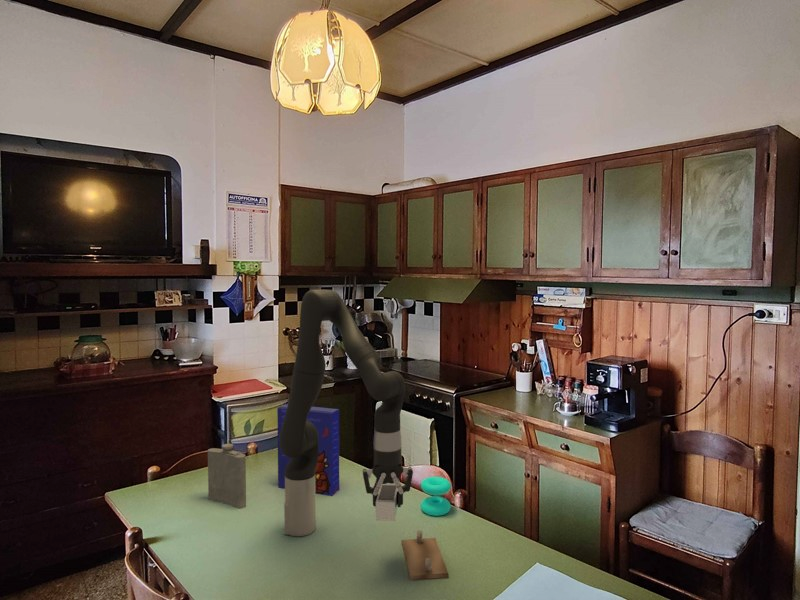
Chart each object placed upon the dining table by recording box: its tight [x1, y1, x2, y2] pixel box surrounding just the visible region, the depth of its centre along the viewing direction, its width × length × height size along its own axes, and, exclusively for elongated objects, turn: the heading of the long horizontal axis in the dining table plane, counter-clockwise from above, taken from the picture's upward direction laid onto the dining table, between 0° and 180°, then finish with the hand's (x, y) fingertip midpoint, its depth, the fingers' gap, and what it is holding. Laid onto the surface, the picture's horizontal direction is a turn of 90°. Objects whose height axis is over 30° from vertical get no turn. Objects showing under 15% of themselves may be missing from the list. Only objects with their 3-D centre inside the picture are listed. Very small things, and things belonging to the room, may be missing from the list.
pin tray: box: [401, 530, 449, 581], centre depth 146 cm, size 10×18×4 cm, turn 7°
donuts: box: [420, 476, 452, 517], centre depth 176 cm, size 10×10×10 cm
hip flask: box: [207, 443, 247, 509], centre depth 181 cm, size 16×4×20 cm, turn 64°
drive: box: [375, 483, 399, 522], centre depth 143 cm, size 5×12×5 cm, turn 175°
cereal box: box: [276, 403, 340, 497], centre depth 192 cm, size 22×6×30 cm, turn 72°
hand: (388, 506), depth 143 cm, fingers closed on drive, 5 cm apart
